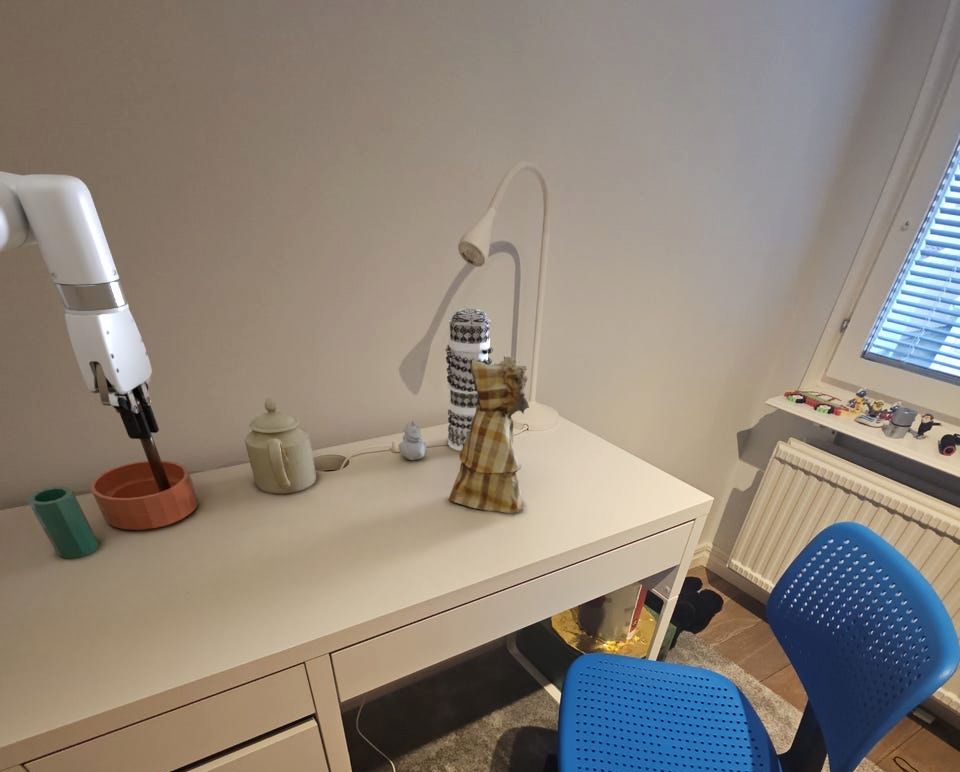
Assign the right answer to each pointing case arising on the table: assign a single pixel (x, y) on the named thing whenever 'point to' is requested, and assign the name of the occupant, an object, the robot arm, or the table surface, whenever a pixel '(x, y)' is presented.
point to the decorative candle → (465, 370)
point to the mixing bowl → (143, 496)
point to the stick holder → (63, 522)
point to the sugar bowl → (280, 452)
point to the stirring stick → (154, 459)
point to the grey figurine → (412, 443)
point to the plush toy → (492, 440)
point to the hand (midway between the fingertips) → (144, 434)
